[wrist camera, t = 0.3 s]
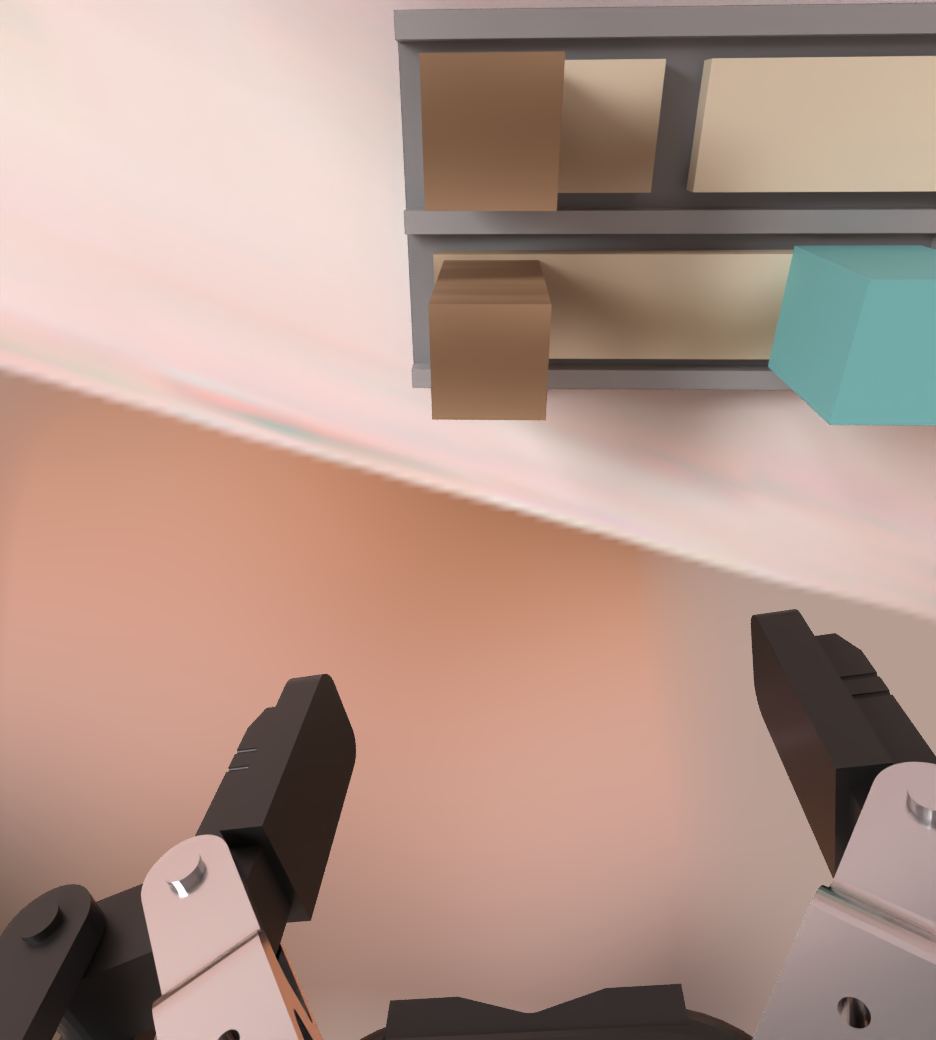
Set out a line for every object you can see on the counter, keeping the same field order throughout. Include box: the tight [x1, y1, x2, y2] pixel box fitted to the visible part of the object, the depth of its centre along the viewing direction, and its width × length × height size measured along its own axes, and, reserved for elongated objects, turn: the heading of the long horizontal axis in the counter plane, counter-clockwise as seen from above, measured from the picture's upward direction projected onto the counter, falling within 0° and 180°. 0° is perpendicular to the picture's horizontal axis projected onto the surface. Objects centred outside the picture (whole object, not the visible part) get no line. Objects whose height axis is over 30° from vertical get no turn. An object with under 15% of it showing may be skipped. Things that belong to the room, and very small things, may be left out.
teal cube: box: [768, 245, 936, 425], centre depth 24 cm, size 5×5×6 cm
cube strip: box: [428, 250, 793, 420], centre depth 24 cm, size 4×19×8 cm, turn 90°
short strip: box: [419, 51, 666, 211], centre depth 21 cm, size 4×8×8 cm, turn 90°
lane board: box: [394, 3, 936, 390], centre depth 26 cm, size 13×21×2 cm, turn 90°
